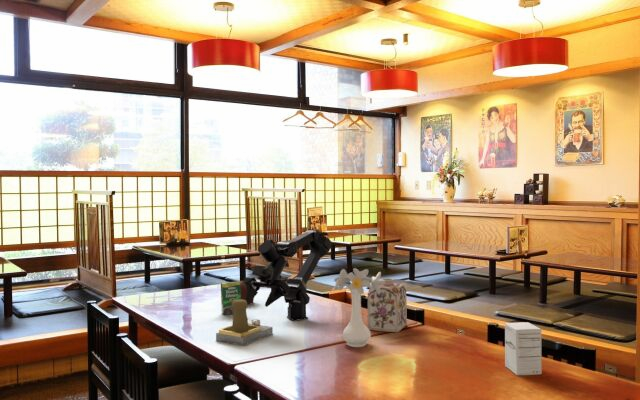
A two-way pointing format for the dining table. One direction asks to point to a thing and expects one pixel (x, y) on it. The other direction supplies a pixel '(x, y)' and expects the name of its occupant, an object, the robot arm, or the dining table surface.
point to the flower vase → (357, 304)
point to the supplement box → (523, 348)
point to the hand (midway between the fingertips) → (256, 305)
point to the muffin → (244, 292)
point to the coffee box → (229, 296)
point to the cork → (240, 316)
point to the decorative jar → (387, 307)
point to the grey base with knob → (244, 334)
